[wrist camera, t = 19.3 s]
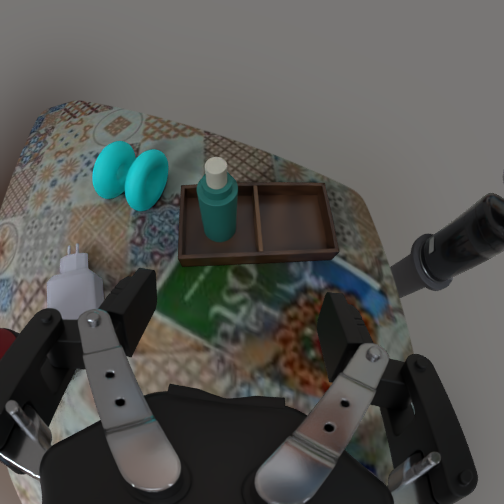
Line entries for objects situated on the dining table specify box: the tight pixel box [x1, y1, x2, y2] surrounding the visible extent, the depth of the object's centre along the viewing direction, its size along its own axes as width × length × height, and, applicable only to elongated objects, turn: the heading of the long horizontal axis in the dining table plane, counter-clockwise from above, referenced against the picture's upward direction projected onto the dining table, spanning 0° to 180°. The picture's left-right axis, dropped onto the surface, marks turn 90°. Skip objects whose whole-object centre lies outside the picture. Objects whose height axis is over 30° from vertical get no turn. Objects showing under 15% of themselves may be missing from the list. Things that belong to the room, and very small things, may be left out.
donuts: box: [93, 141, 168, 211], centre depth 41 cm, size 10×10×10 cm
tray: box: [178, 182, 339, 267], centre depth 43 cm, size 23×12×4 cm, turn 94°
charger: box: [47, 243, 104, 320], centre depth 36 cm, size 5×9×15 cm
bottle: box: [197, 157, 238, 242], centre depth 36 cm, size 5×5×16 cm
